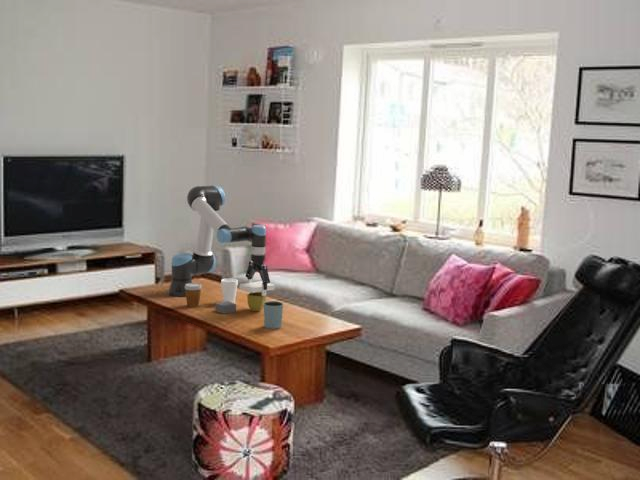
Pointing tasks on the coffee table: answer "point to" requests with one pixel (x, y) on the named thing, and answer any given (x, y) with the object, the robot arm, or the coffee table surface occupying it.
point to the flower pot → (256, 301)
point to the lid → (256, 286)
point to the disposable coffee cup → (193, 294)
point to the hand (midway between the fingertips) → (257, 293)
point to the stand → (225, 307)
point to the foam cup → (229, 289)
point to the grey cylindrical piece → (273, 314)
